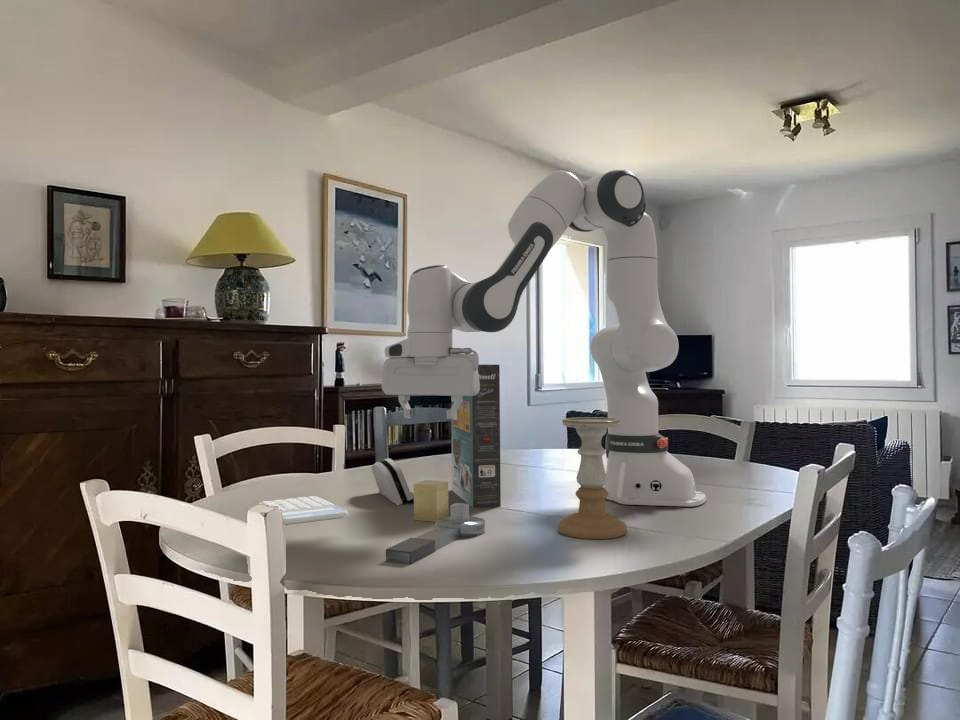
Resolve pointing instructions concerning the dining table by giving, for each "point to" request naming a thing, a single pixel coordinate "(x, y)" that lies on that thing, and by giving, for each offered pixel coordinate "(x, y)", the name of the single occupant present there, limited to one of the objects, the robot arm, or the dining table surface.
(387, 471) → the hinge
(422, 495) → the tan rectangular block
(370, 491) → the dining table surface
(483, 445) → the cake mix box
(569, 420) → the candle holder
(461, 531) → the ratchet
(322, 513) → the calculator
